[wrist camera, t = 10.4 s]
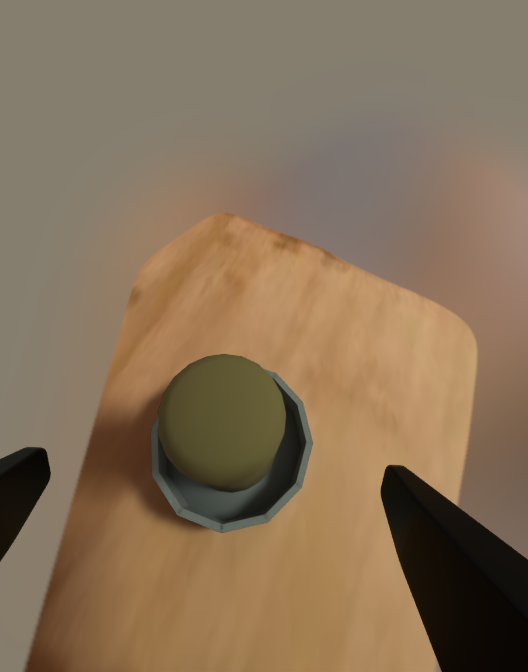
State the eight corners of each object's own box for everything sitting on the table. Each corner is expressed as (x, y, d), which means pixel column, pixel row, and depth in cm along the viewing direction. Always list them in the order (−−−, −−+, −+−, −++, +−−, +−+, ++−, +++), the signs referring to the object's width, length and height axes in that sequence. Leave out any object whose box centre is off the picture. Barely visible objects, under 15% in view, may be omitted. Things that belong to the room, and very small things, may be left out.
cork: (170, 455, 20) (96, 426, 10) (225, 385, 22) (208, 307, 13) (242, 514, 19) (236, 545, 9) (292, 432, 21) (331, 386, 11)
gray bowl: (320, 505, 19) (329, 507, 17) (165, 541, 18) (153, 549, 16) (286, 365, 24) (290, 353, 22) (159, 386, 23) (149, 375, 20)
